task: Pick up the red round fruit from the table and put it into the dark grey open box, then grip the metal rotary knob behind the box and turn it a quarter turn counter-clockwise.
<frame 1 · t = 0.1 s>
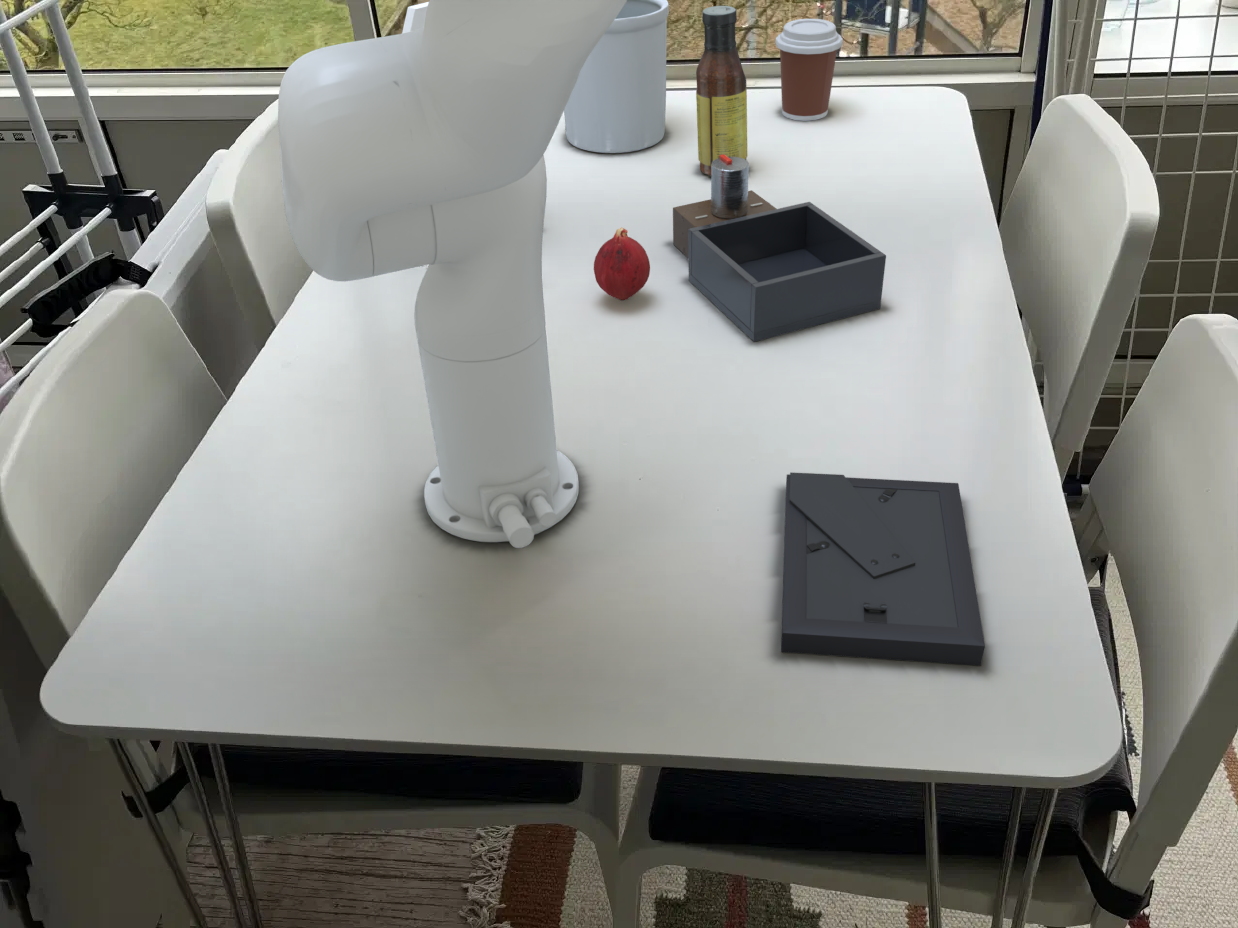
coffee cup: (804, 114, 162), on the table
picture frame: (874, 573, 84), on the table
metal rotary knob: (729, 186, 123), point 7 cm above the table, hinge at 0.0°
utensil holder: (616, 137, 157), on the table
sauce bottle: (721, 172, 146), on the table
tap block: (728, 249, 128), on the table
milk: (465, 233, 134), on the table
red round fruit: (623, 301, 119), on the table
dark grey open box: (781, 294, 119), on the table
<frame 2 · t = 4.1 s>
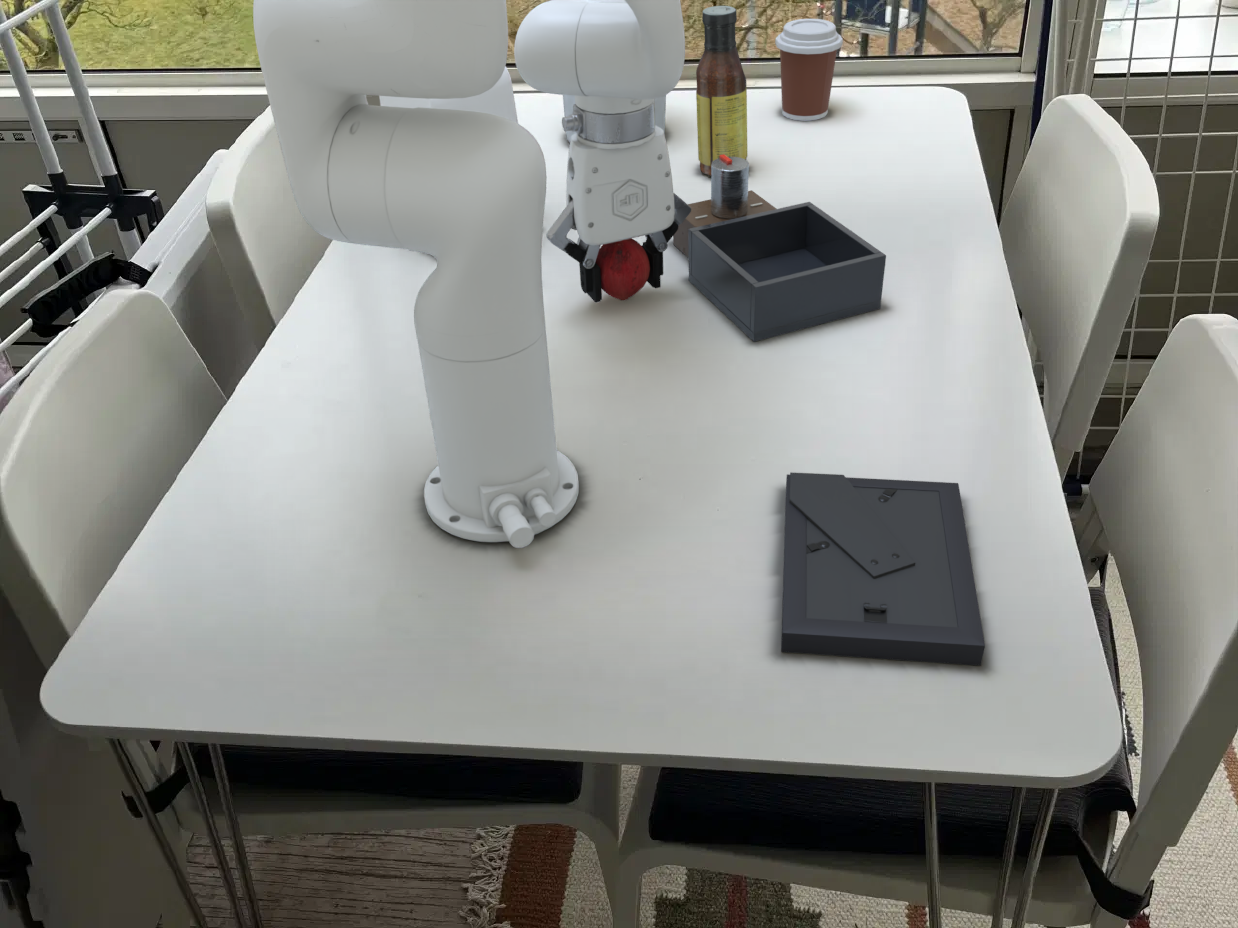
hand: (622, 288, 118), 1 cm above the table, tool pointing down, fingers closed on red round fruit, 5 cm apart
red round fruit: (623, 301, 119), on the table, touching gripper
everything else where it was.
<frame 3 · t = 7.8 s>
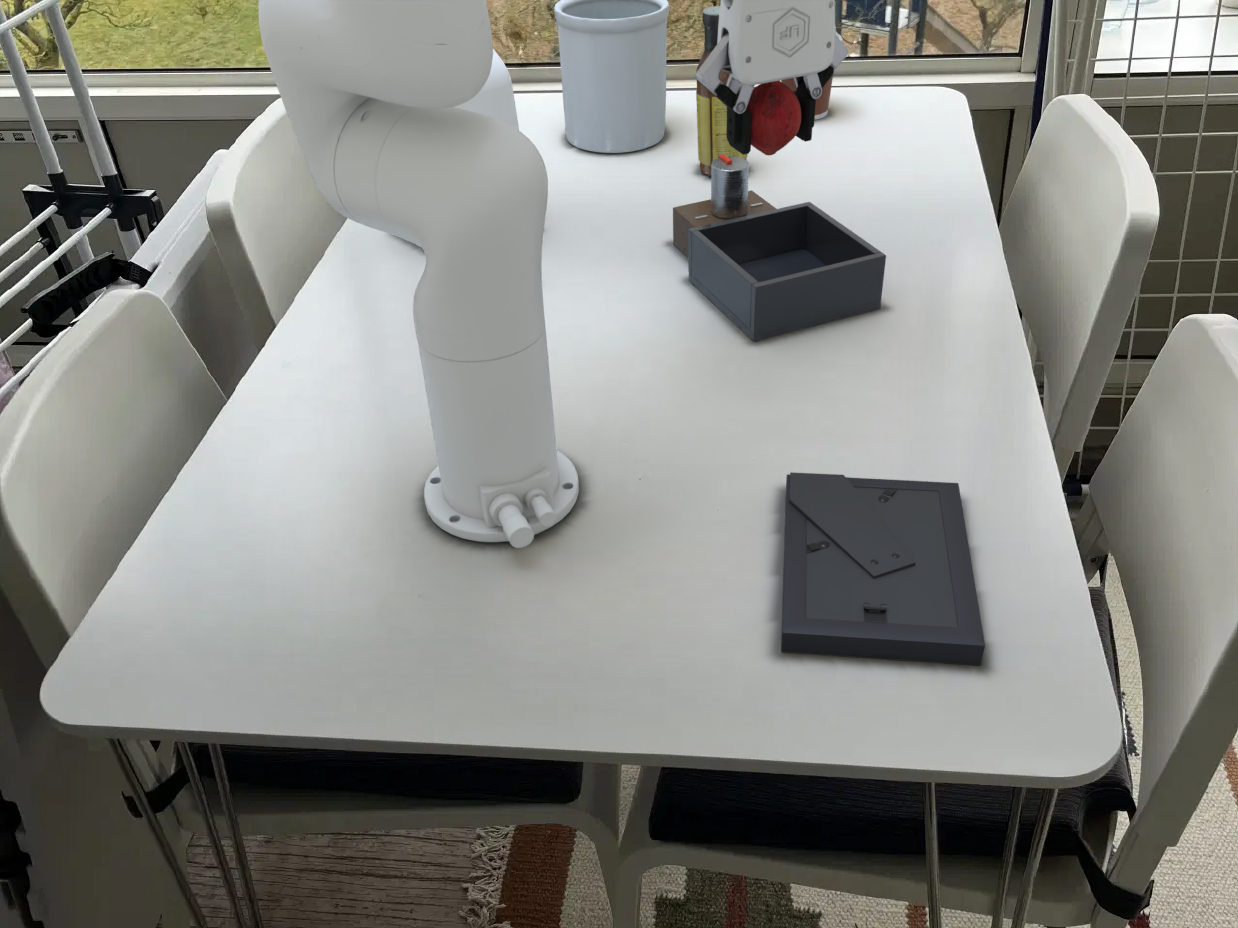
hand: (770, 141, 109), 17 cm above the table, tool pointing down, fingers closed on red round fruit, 5 cm apart
red round fruit: (769, 157, 110), point 15 cm above the table, touching gripper
everything else where it was.
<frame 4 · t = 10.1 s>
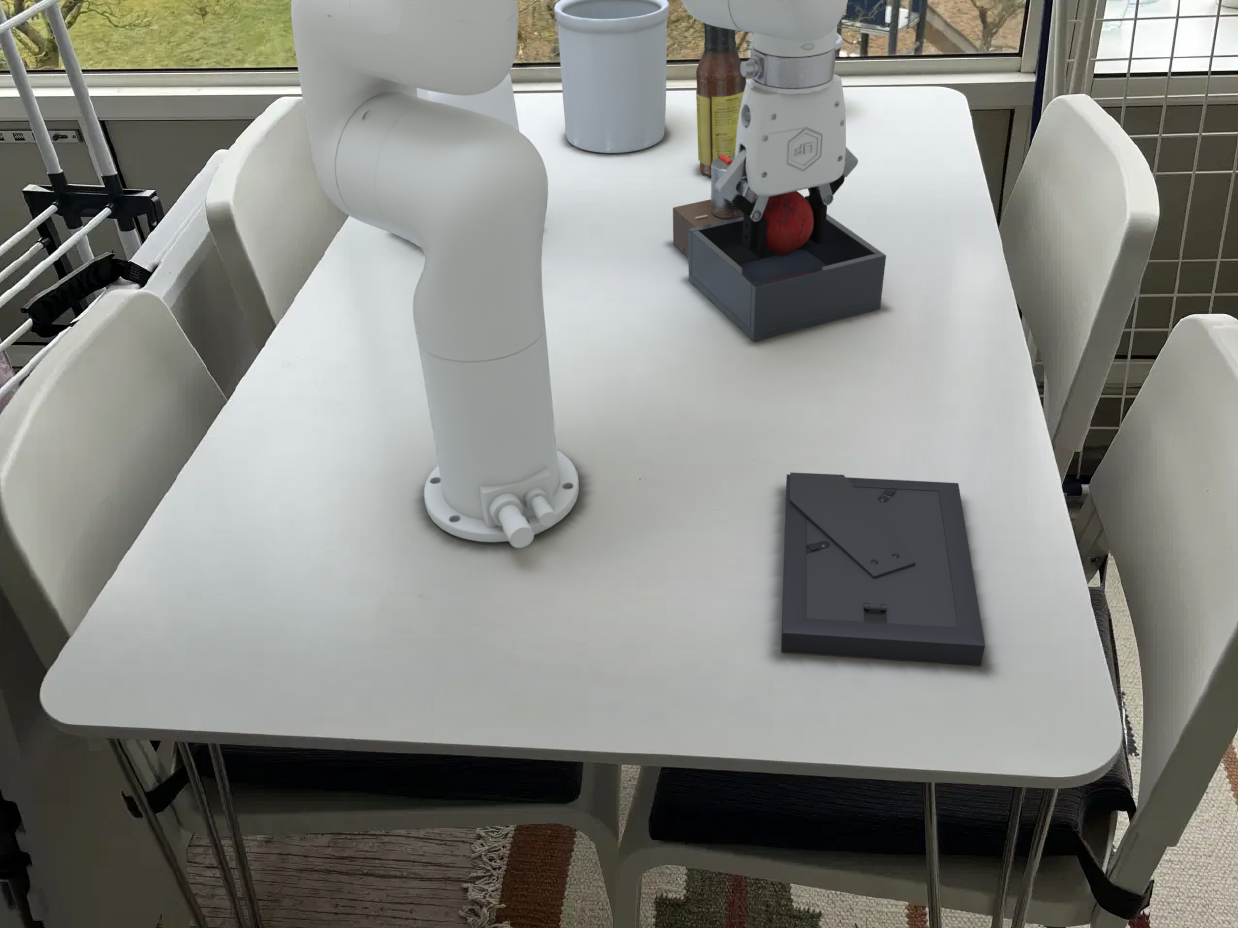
hand: (783, 243, 115), 6 cm above the table, tool pointing down, fingers closed on red round fruit, 5 cm apart
red round fruit: (782, 257, 116), point 4 cm above the table, touching gripper
everything else where it was.
when the fingers open (2 cm above the table, at t = 11.7 s): red round fruit stays where it is, resting on dark grey open box.
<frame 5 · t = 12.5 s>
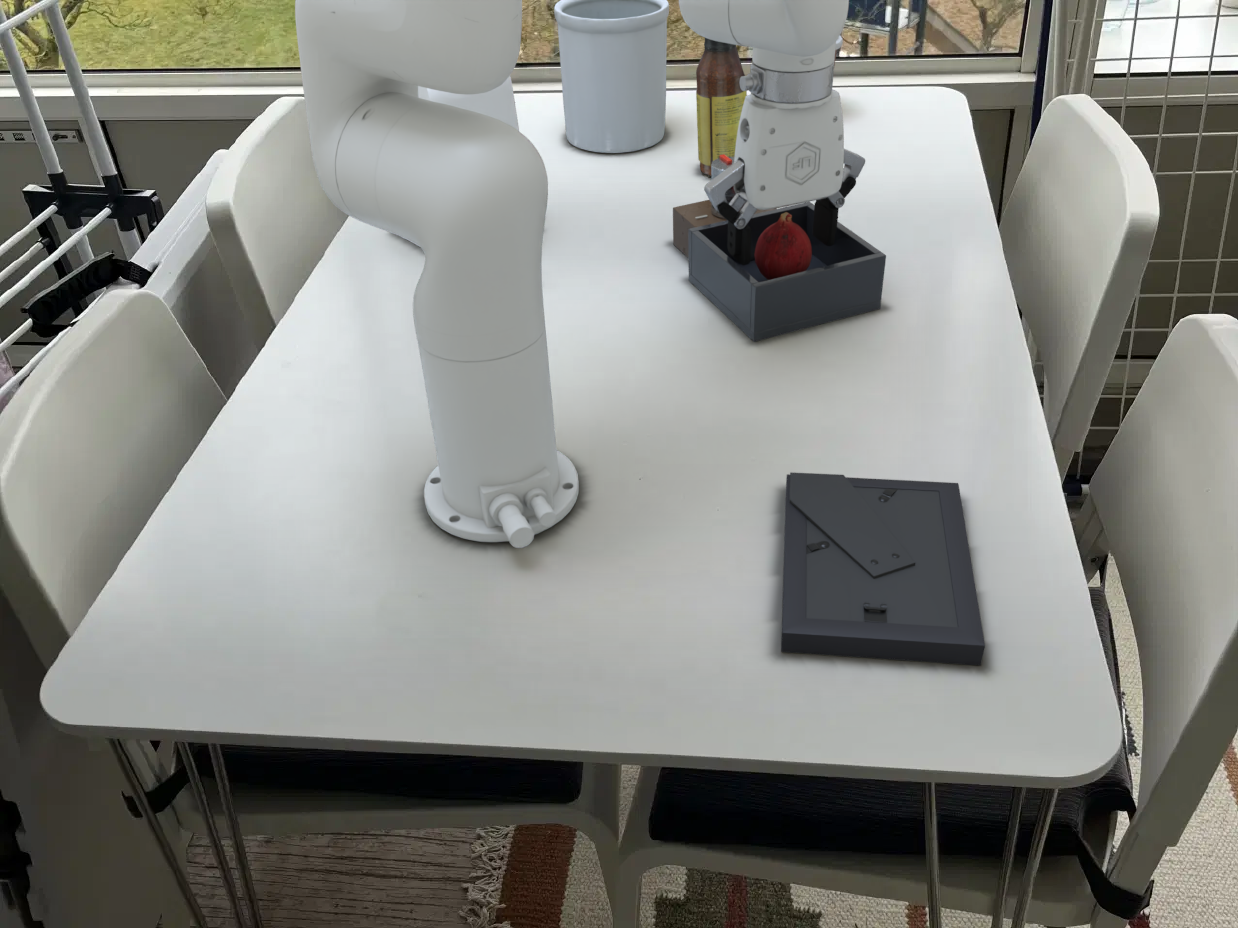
hand: (781, 250, 115), 5 cm above the table, tool pointing down, fingers open, 9 cm apart
red round fruit: (781, 287, 118), point 1 cm above the table, touching dark grey open box
everything else where it was.
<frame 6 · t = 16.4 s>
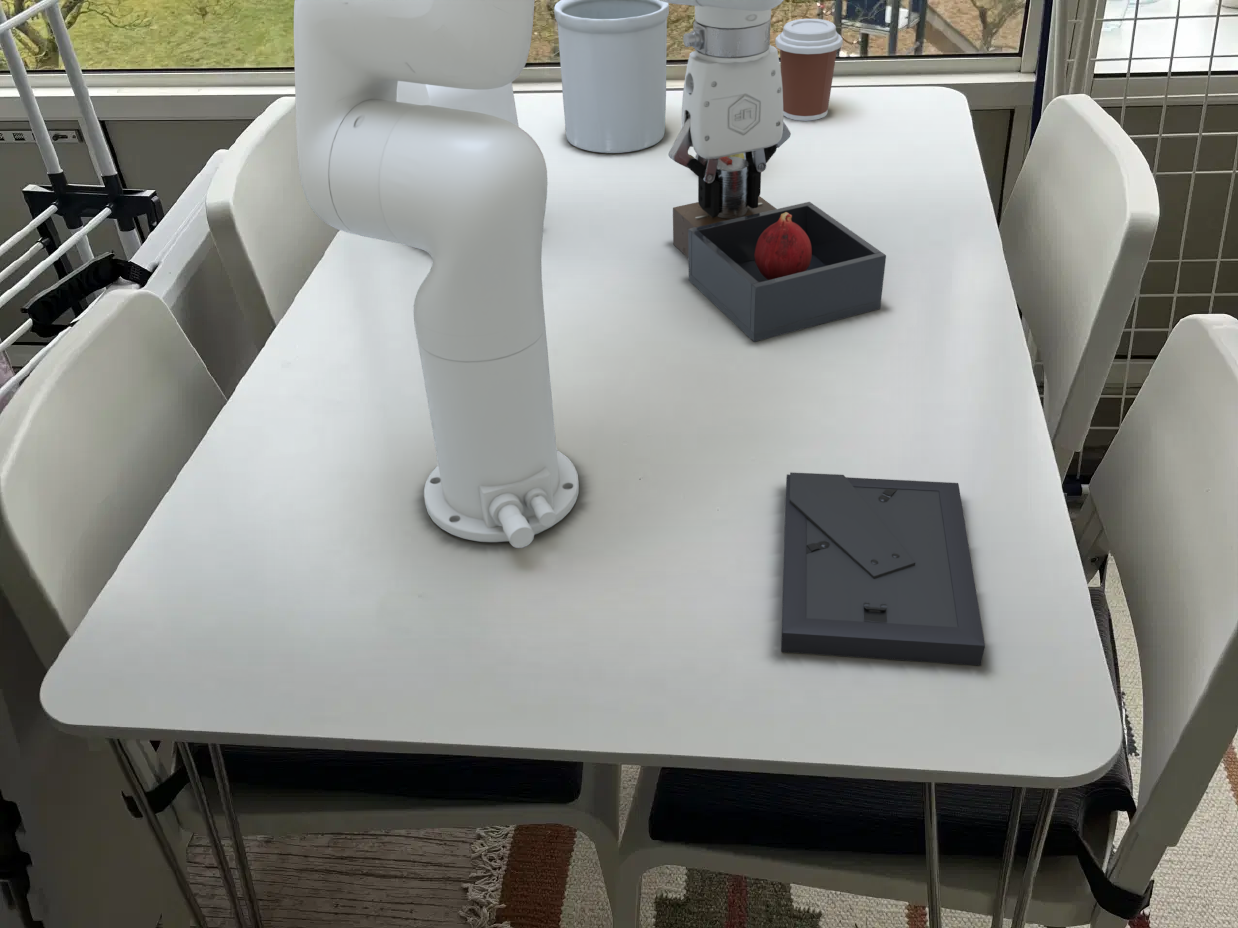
hand: (729, 206, 125), 5 cm above the table, tool pointing down, fingers closed on metal rotary knob, 4 cm apart
metal rotary knob: (729, 186, 123), point 7 cm above the table, hinge at -0.2°, touching gripper
everything else where it was.
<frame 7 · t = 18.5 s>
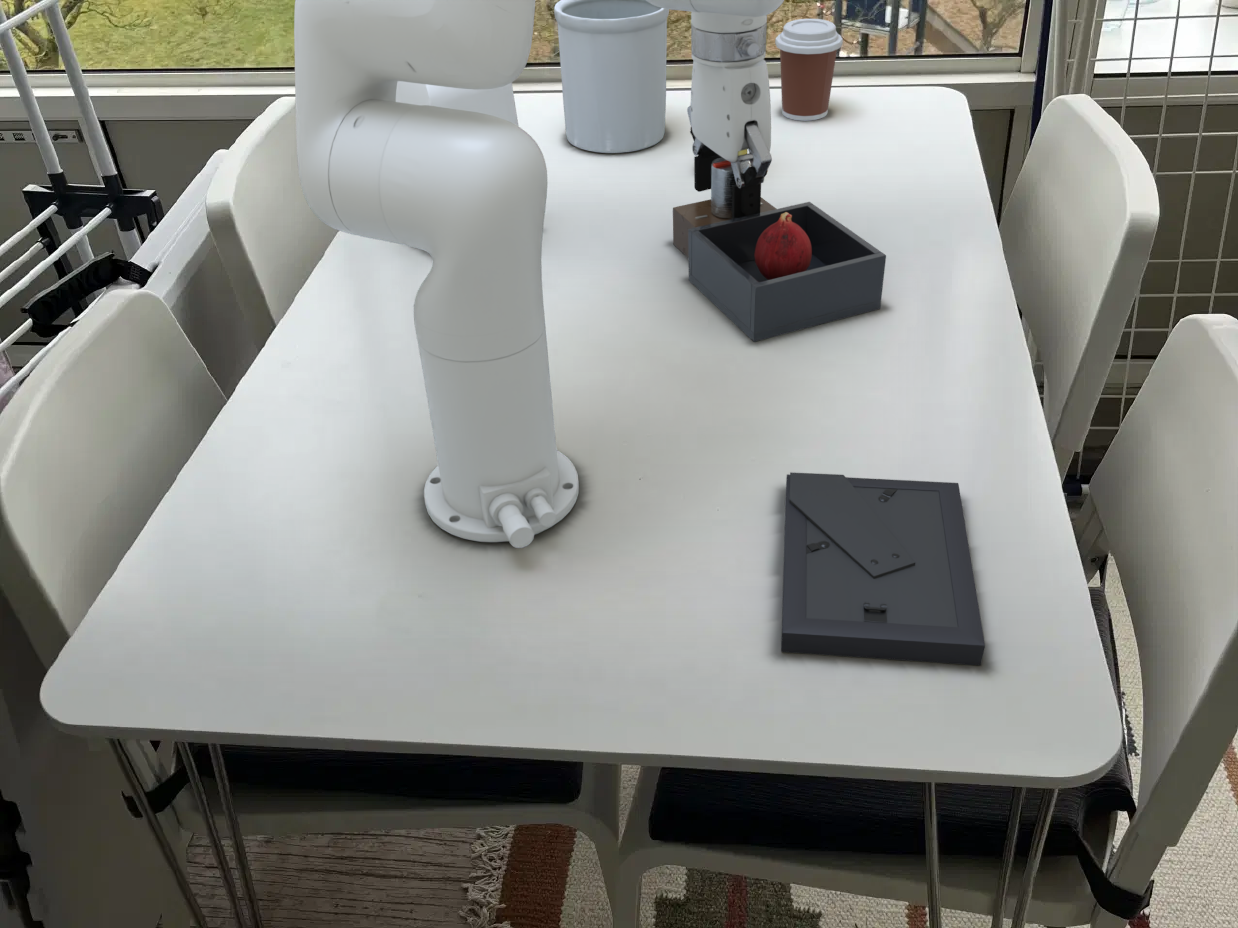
hand: (726, 202, 125), 5 cm above the table, tool pointing down, fingers open, 8 cm apart
metal rotary knob: (729, 186, 123), point 7 cm above the table, hinge at 93.1°
everything else where it was.
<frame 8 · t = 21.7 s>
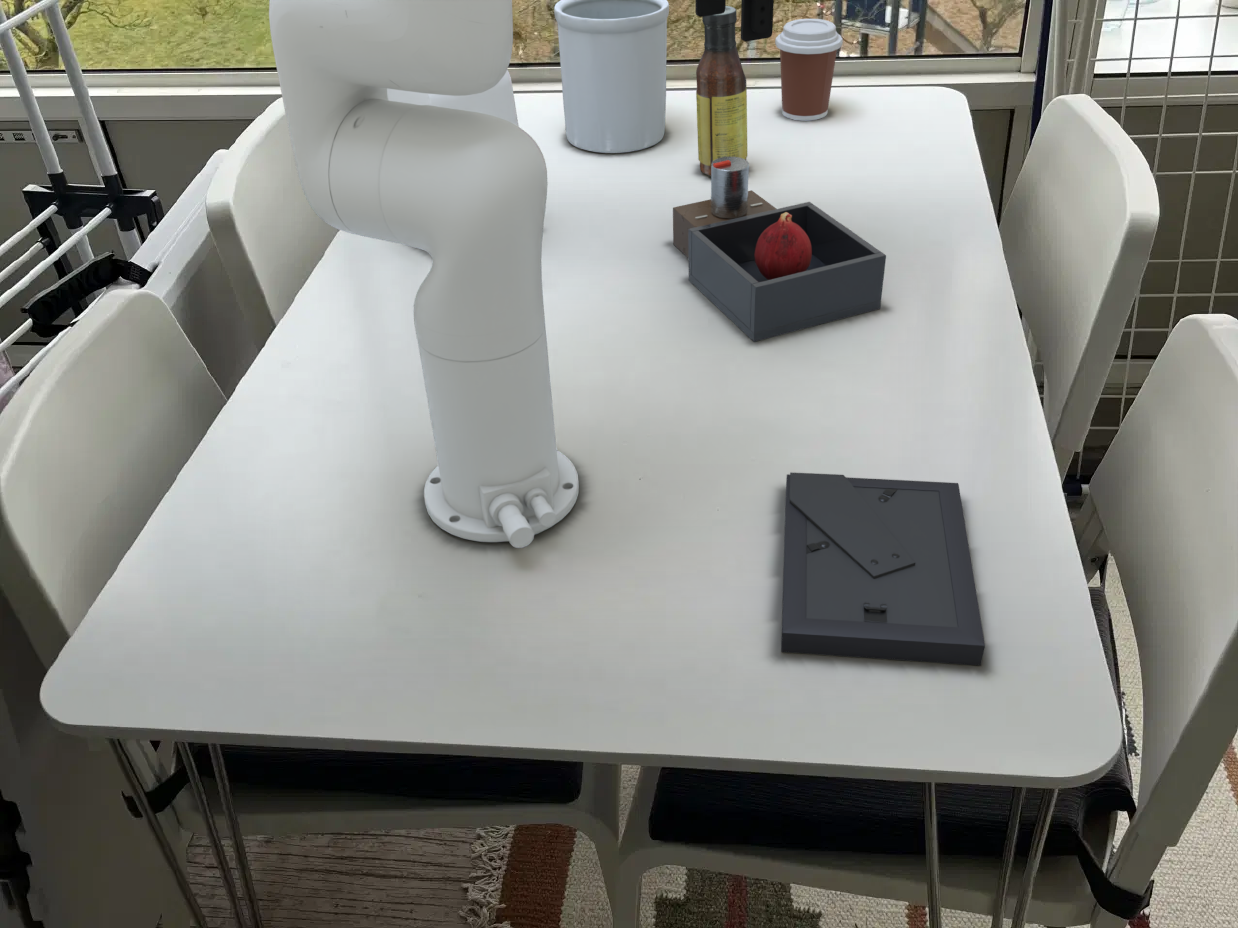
hand: (732, 26, 113), 24 cm above the table, tool pointing down, fingers open, 9 cm apart
nothing on the table moved.
at the end: red round fruit inside the target area in the dark grey open box (0.1 cm from its centre), point 0.8 cm above the dark grey open box's base; the gripper is holding nothing; metal rotary knob at +93° (first picture: +0°) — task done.
